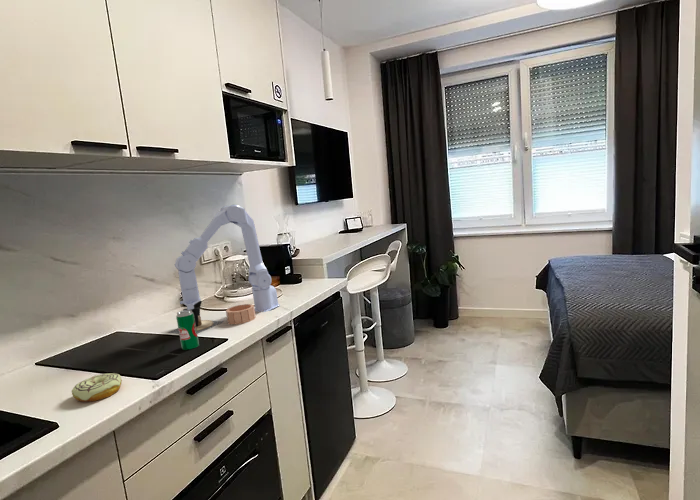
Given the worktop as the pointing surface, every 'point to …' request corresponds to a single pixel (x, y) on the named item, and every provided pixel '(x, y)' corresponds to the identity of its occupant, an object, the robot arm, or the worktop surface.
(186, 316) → the soda can
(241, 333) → the worktop surface
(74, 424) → the worktop surface
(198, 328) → the lid
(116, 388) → the decorated donut
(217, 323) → the mat
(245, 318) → the bowl
